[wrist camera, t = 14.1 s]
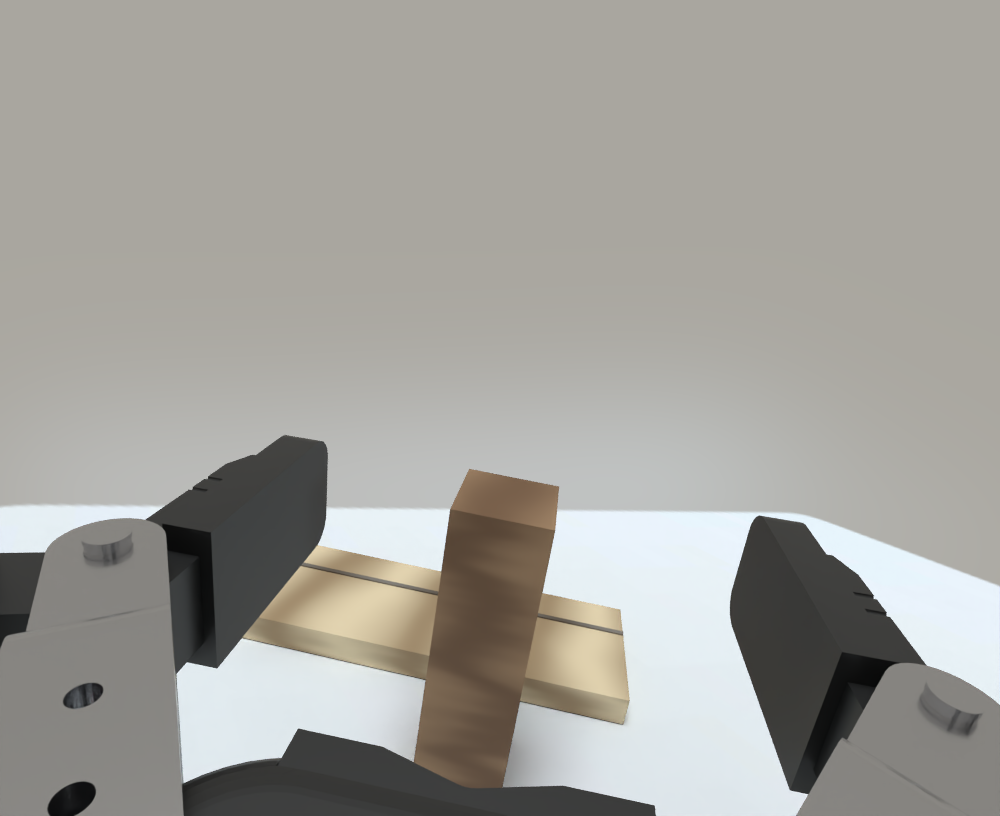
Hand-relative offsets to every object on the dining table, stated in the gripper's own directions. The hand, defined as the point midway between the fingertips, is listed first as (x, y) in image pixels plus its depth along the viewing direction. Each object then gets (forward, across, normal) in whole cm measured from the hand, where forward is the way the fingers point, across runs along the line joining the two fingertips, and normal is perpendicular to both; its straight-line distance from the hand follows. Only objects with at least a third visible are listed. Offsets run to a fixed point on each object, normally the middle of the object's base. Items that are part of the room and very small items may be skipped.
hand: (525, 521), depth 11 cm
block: (+16, +2, +20) cm, 25 cm away
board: (+20, +5, +20) cm, 28 cm away
